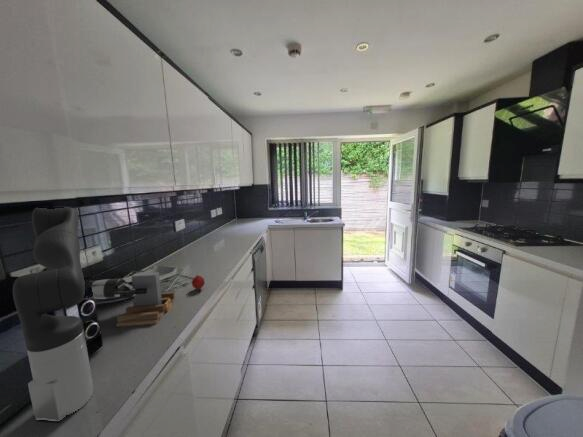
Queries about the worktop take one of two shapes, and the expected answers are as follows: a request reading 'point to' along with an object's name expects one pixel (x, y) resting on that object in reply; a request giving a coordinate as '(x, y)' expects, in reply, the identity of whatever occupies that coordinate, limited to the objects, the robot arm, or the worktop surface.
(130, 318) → the rack
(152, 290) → the panel
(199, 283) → the onion
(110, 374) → the worktop surface
